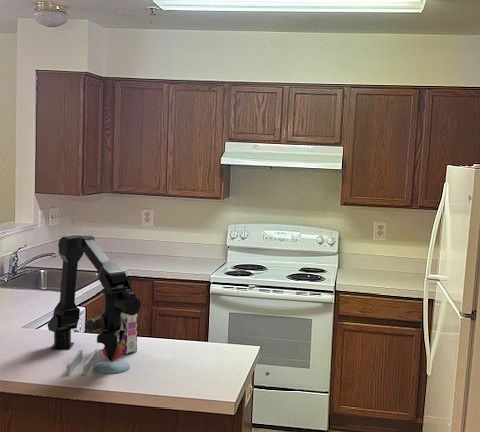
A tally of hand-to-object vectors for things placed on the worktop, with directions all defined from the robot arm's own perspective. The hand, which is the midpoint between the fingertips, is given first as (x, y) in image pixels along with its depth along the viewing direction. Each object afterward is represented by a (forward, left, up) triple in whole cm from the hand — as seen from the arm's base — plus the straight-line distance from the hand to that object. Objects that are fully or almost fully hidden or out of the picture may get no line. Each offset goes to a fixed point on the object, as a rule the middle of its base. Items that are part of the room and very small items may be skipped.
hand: (112, 357), depth 210 cm
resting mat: (0, 0, -4) cm, 4 cm away
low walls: (0, -9, -4) cm, 10 cm away
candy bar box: (-19, 0, -4) cm, 19 cm away
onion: (0, 0, -2) cm, 2 cm away
